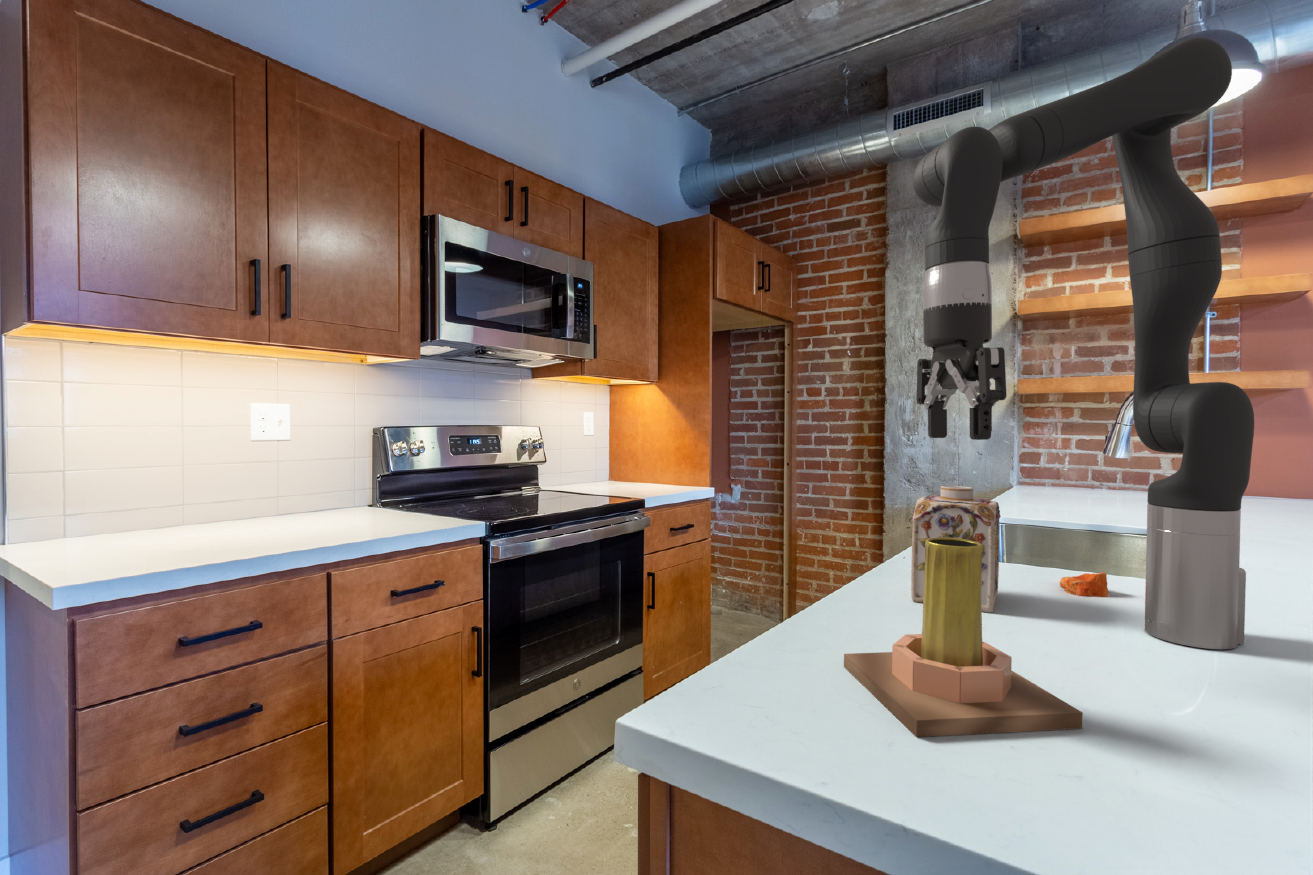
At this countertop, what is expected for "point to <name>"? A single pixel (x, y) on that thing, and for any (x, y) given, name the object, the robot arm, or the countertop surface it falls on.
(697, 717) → the countertop surface
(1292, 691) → the countertop surface
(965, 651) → the vase
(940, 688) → the holder ring
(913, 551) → the decorative jar
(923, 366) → the robot arm
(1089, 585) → the rock
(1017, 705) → the board
